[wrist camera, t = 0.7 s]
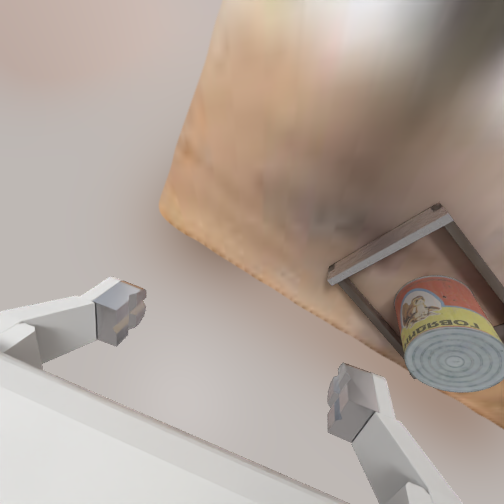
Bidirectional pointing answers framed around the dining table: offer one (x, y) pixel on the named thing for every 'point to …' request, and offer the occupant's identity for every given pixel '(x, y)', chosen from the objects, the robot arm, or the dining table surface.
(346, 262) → the frame
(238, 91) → the dining table surface
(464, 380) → the canned food
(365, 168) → the dining table surface
